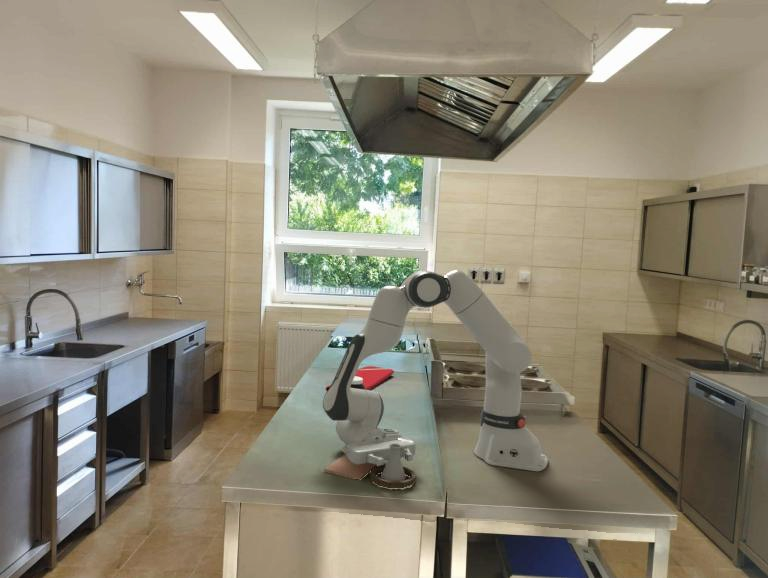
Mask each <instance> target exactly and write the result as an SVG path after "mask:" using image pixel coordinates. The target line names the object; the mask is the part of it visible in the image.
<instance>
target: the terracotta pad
mask: <svg viewBox="0 0 768 578" xmlns="http://www.w3.org/2000/svg"><path fill="white" fill-rule="evenodd" d="M376 466H377V465H376V464H372V463H365V464H354V463H352V462H351V461H350V460H349V459H348V457H347V454H346V453H344V454H343V455H342V456H341V457H339V458H338V459H337V460H335V461H333V462H332V463H331V464H329V465H328V466H326V467H325V468H324V469H323V472H324V473H328V474H331V473H332V475H335V474H337V475H336V476H339V475H341V476H340V477H343V476H346V477H345V478H347V477H350V478H349V479H351V478H355V479H359V480H360V479H362V478H363V477H364V476H365V475H366V474H367V473H369V472H370V471H371V470H372V469H373V468H375V467H376ZM370 473H371V472H370ZM370 473H369V474H370ZM366 476H367V475H366ZM366 476H365V477H366ZM365 477H364V478H365ZM364 478H363V479H364ZM355 479H354V480H355ZM363 479H362V480H363ZM359 480H358V481H359ZM360 481H361V480H360Z"/></svg>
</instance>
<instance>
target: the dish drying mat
mask: <svg viewBox="0 0 768 578" xmlns="http://www.w3.org/2000/svg"><path fill="white" fill-rule="evenodd" d="M394 373H395V371H394V370H393V369H391V368H386V367H385V368H384V367H381V366H373V365H372V366H371V365H369V366H363V367H360V368H358V370H357V372H356V375H355V376H356V377H361V378H363V383H362V384H363V385H364V386H365V388H366V390H372V389H373V388H375V387H376V386H378V385H379V384H381V383H383V382H384V381H386V380H387V379H388V378H389V377H391V376H392V375H393V374H394ZM330 386H331V384H329V385H328V386H326V387H325V391H328V389H329V387H330Z"/></svg>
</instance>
